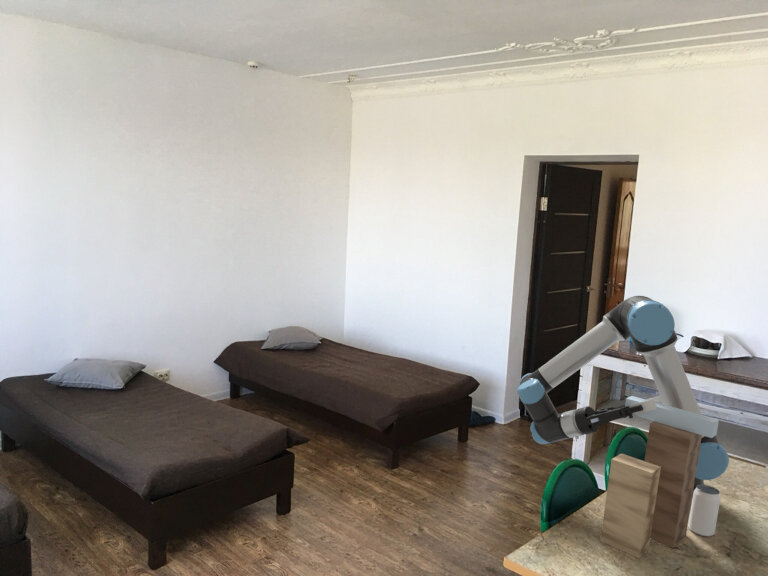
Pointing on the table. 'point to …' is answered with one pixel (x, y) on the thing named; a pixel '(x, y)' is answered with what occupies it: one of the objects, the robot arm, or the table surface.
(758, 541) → the table surface
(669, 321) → the robot arm
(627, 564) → the table surface
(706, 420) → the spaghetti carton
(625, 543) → the oak step
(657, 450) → the walnut block
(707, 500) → the can
